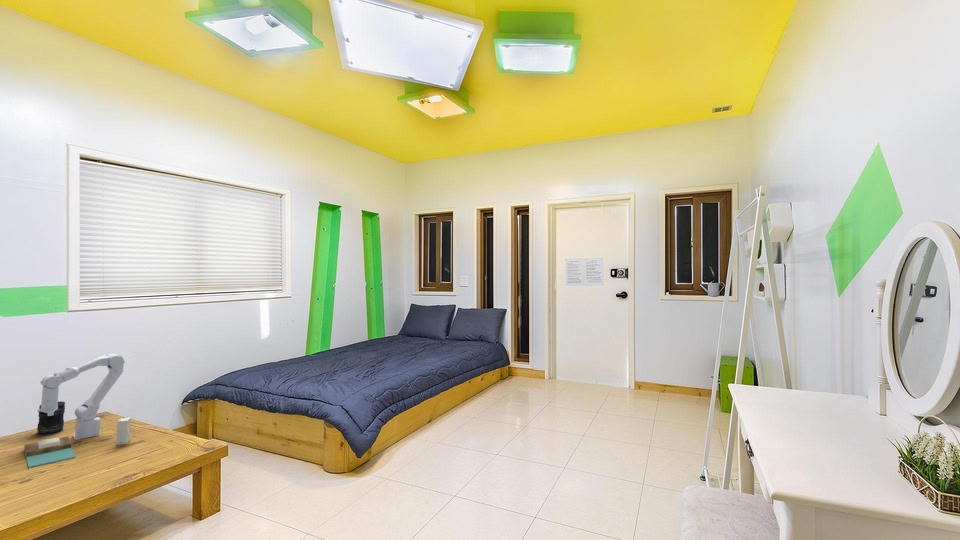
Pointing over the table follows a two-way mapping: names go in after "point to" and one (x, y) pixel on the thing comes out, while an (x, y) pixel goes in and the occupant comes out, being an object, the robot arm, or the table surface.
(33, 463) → the teal mat
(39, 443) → the ceramic tile
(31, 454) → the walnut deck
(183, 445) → the table surface
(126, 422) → the skincare box
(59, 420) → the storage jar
